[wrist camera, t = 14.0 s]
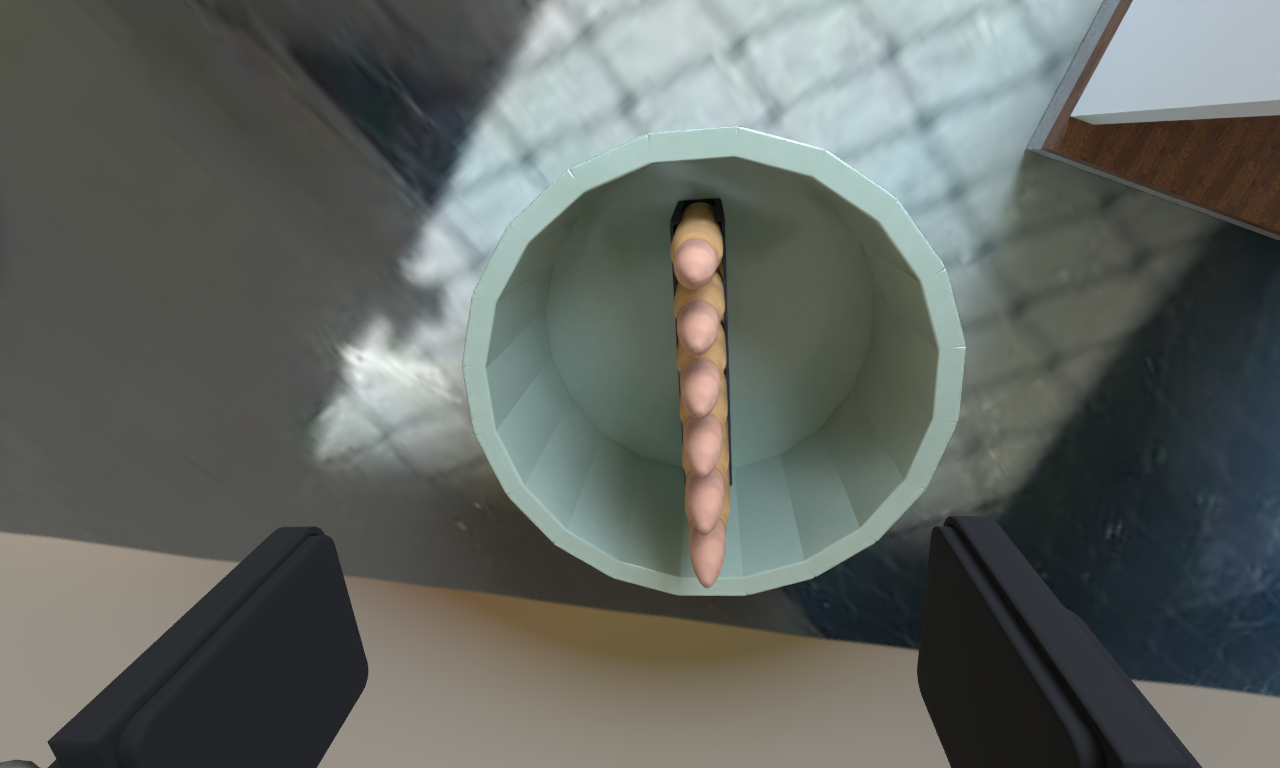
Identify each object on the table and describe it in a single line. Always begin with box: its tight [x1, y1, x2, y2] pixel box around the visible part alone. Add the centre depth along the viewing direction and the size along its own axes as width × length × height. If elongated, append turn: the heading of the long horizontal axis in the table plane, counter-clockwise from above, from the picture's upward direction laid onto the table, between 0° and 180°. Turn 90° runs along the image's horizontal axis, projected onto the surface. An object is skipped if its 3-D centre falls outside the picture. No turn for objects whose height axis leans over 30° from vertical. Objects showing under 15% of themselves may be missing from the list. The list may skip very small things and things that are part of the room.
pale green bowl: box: [462, 126, 966, 596], centre depth 24 cm, size 16×16×9 cm
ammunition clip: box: [670, 198, 732, 588], centre depth 22 cm, size 11×2×12 cm, turn 4°
